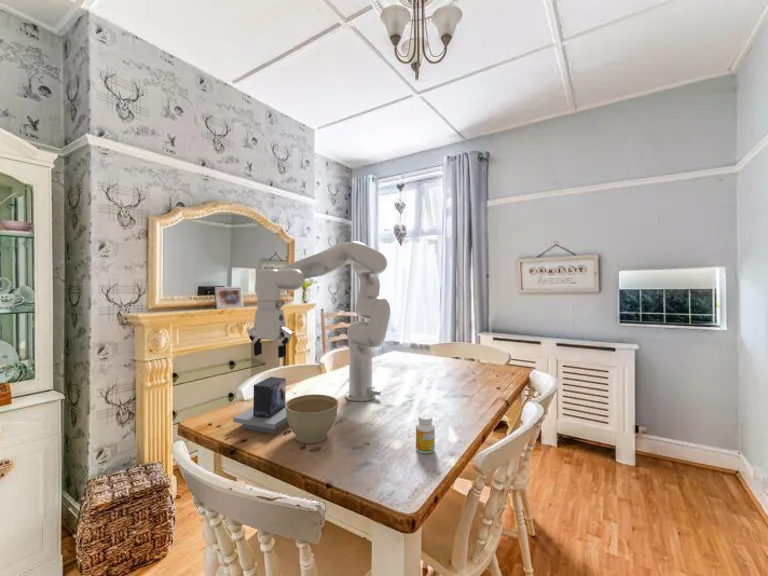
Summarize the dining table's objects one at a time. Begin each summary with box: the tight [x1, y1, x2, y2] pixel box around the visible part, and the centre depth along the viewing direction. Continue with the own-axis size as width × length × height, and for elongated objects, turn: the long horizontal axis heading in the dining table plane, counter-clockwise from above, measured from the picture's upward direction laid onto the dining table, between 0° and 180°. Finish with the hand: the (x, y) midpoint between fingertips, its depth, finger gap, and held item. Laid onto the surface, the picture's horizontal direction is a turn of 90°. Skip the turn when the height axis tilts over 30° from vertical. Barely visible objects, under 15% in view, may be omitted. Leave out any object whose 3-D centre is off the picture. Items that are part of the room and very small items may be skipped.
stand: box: [232, 406, 289, 434], centre depth 117 cm, size 16×16×4 cm
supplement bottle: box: [415, 413, 436, 454], centre depth 100 cm, size 5×5×10 cm
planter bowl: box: [285, 393, 339, 444], centre depth 107 cm, size 16×16×11 cm
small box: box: [252, 376, 286, 418], centre depth 117 cm, size 11×6×10 cm, turn 167°
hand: (269, 355), depth 117 cm, fingers open, 9 cm apart
